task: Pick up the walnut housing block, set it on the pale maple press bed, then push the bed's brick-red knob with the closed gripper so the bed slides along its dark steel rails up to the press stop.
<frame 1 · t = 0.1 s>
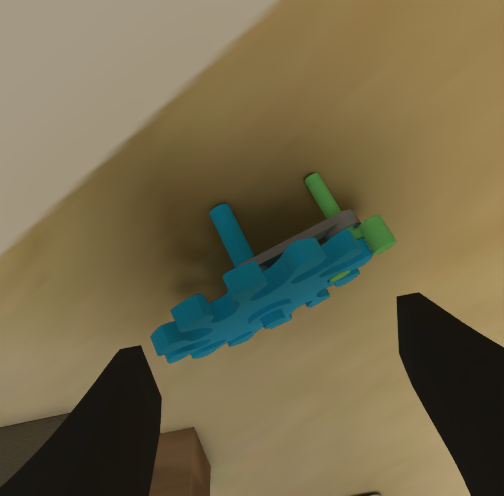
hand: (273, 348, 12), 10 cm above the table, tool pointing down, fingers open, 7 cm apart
housing: (172, 453, 29), on the table
gear: (267, 251, 23), on the table
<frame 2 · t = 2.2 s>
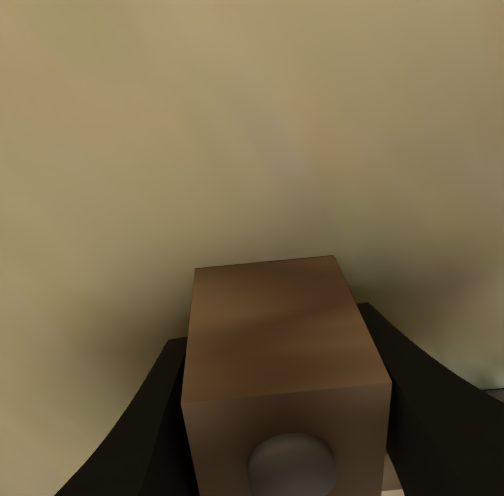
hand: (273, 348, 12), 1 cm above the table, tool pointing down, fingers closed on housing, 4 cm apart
housing: (268, 318, 14), on the table, touching gripper
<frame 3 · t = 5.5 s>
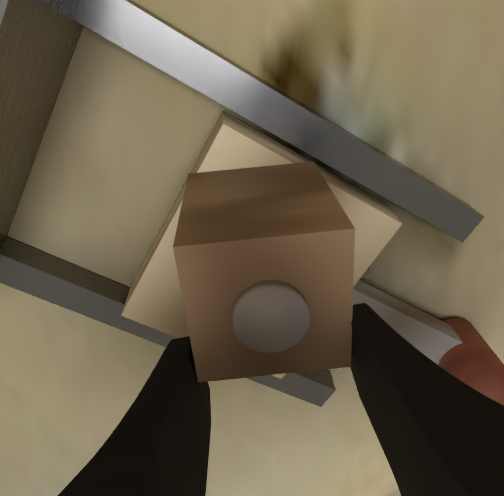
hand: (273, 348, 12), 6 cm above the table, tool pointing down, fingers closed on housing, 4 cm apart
housing: (256, 224, 15), point 2 cm above the table, touching gripper, press bed
press bed: (348, 312, 17), point 2 cm above the table, slide at 0.3 cm, touching housing
press frame: (214, 223, 18), on the table
when the fingers open (5 cm above the table, at t = 6.2 s): housing stays where it is, resting on press bed.
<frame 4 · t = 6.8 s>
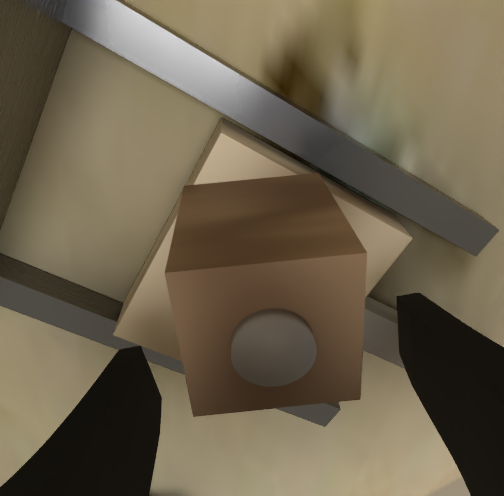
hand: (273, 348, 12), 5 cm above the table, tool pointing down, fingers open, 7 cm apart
housing: (256, 239, 14), point 2 cm above the table, touching press bed
press bed: (354, 331, 16), point 2 cm above the table, slide at 0.3 cm, touching housing
press frame: (213, 236, 17), on the table
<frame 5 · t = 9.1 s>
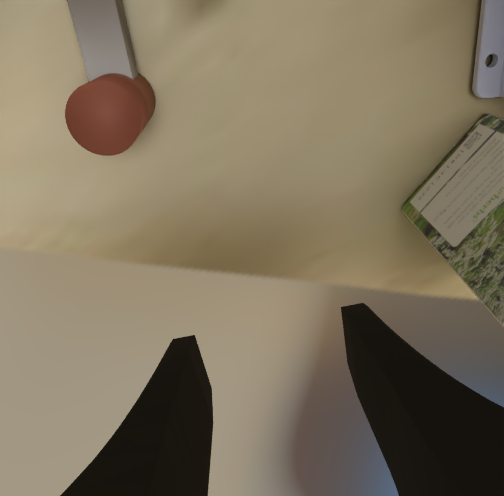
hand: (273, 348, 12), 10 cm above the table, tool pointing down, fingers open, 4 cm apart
syrup box: (475, 190, 22), on the table
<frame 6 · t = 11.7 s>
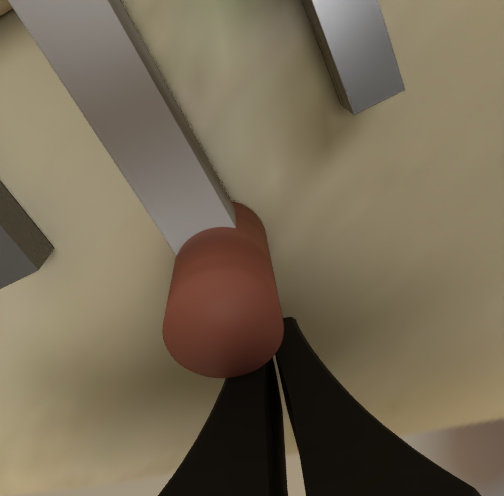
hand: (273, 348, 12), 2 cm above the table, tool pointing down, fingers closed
press bed: (53, 4, 8), point 2 cm above the table, slide at 2.1 cm, touching gripper, housing
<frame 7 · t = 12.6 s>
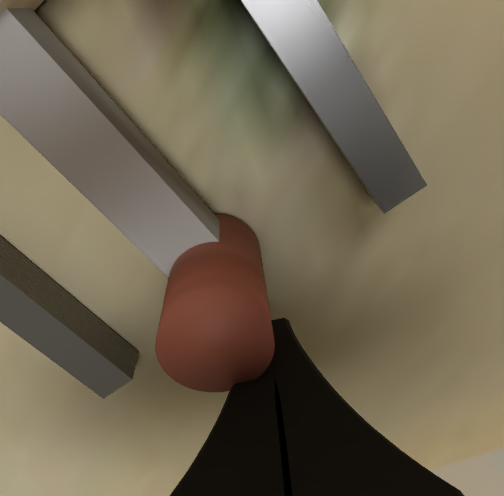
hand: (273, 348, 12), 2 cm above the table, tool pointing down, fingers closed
press frame: (9, 25, 10), on the table
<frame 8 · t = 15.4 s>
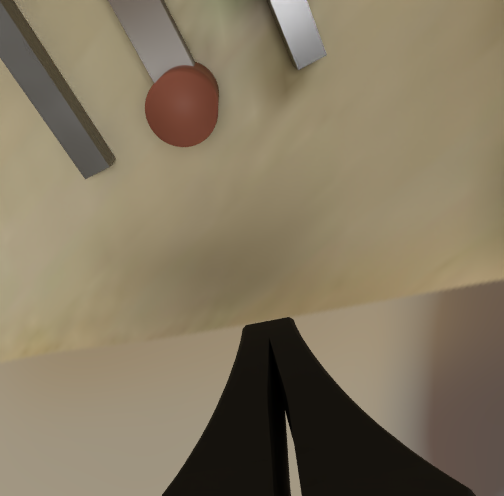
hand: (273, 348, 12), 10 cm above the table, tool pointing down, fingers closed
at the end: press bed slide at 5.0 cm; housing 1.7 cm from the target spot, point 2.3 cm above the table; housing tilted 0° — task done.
